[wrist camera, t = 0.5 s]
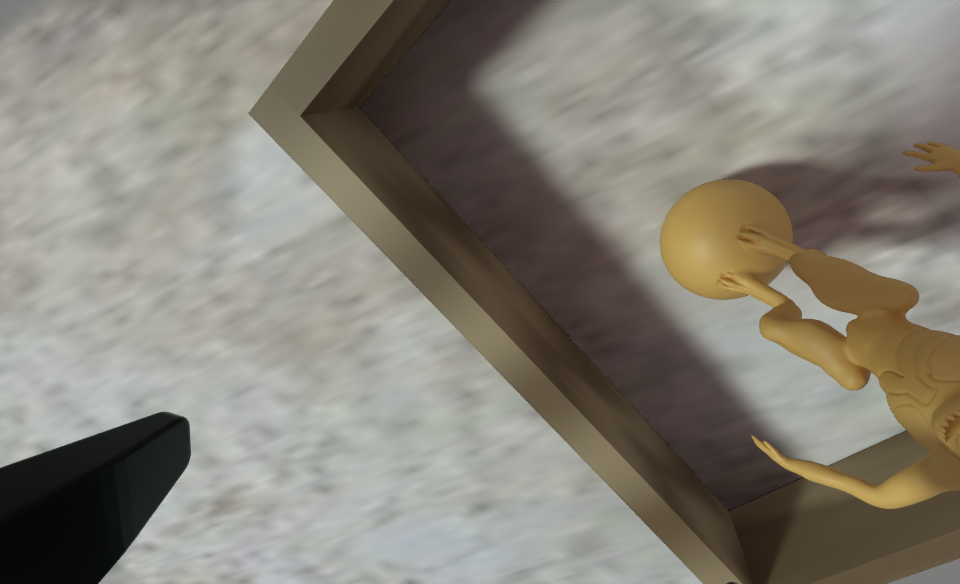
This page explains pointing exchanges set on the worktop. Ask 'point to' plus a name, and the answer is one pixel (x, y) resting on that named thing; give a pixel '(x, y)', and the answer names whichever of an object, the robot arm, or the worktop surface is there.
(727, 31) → the worktop surface
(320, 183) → the three-sided wooden wall
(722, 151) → the worktop surface
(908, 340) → the figurine
